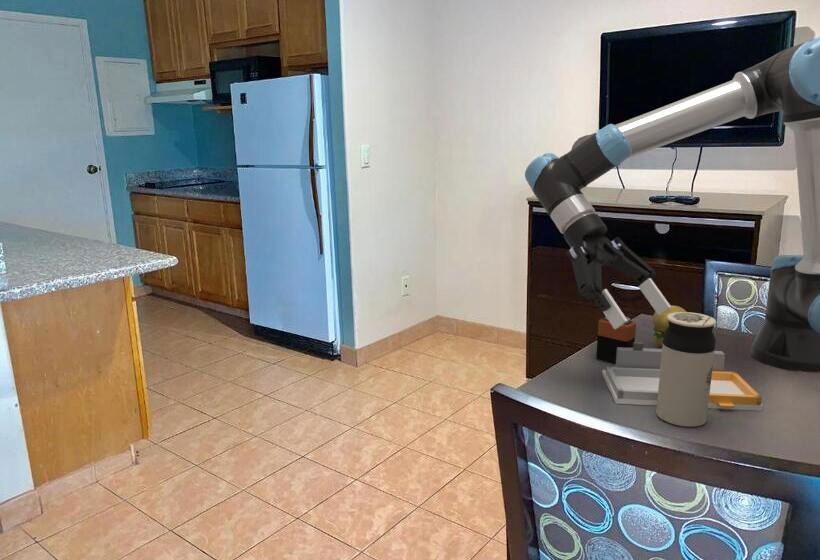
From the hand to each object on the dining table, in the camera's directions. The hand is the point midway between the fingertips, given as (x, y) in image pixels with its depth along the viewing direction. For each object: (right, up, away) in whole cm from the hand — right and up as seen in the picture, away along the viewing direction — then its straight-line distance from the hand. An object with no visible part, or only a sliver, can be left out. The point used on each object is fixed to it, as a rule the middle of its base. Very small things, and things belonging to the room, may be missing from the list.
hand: (644, 318), depth 106 cm
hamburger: (+17, -10, +30) cm, 36 cm away
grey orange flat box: (+9, -15, +8) cm, 19 cm away
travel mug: (+5, -17, -2) cm, 18 cm away
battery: (+3, -11, +25) cm, 27 cm away
